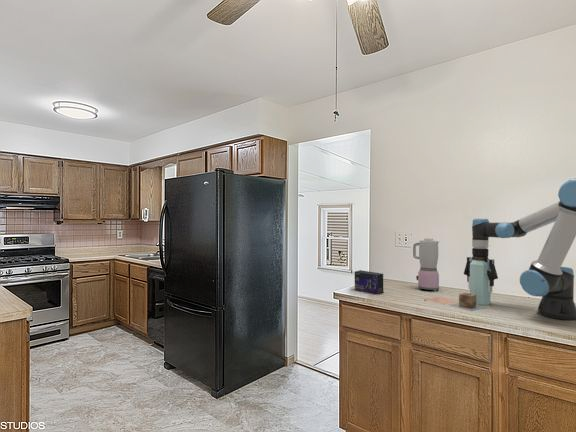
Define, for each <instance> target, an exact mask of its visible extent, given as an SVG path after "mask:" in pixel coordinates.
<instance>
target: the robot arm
mask: <svg viewBox="0 0 576 432" xmlns="http://www.w3.org/2000/svg"><path fill="white" fill-rule="evenodd" d="M557 196H558V198H559V201H557V202H555V203H553V204H550V205H548V206H546V207H543V208H541V209H540V210H537V211H536V212H533V213H531V214H529V215H526V216H524V217H521V218H520V219H518V220H515V221H512V222H489V221H490V220H489V219H488V218H473V219H472V225H471V231H472V239H471V240H472V241H471V247H472V249H471V254H472V257H471V256H467V257H466V264H465V267H464V271H463V275H465V276H466V277H467V279H466V282H467V284H468V285H467V286H468V290H470V263H471V262H472V261H473V256H477V257H484V261H485V262H488V263H489V266H490V270H491V271H488V270H487V275H488V277H489V280H488V293H491V294H492V293H493V287H494V286H495V280H498V279H499V276H498V273H497V270H496V266H495V259H494V258H493V259H490V258H489V238H498V239H499V238H500V239H510V238H522V237H525V236H526V235H527V234H528V233H530V232H532V231H536V230H538V229H540V228H542V227H545V226H548V225H550V224H552V223H553V225H552V228H551V229H550V232H549V234H548V236H547V238H546V241H545V243H544V245H543V247H542V249H541V251H540V254H539V256H538V258H537V259H536V260H532V262H531V264H530V266H529V268H528V269H527V270H524V271H523V272H522V273H521V274H520V277H519V284H520V286H521V289H522V290H523V291H524V292H525V293H527V295H530V296H533V297H541V300H540V302H539V303H538V304H539V305H538V307H537V314H538V315H540V316H543V317H545V318H549V319H556V320H565V321H576V304H575V301H574V294H575V291H574V289H575V288H574V285H575V282H574V281H575V275H574V274H575V273H574V269H573V268H572V267H567V266H563V263H564V261H565V260H566V257H567V256H568V253H569V251H570V249H571V247H572V245H573V243H574V241H575V239H576V177H575V178H571V179H568V180H567V181H565V182H563V183H562V184H561V186H560V187H559V189H558V193H557Z"/></svg>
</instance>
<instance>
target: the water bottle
mask: <svg viewBox="0 0 576 432" xmlns="http://www.w3.org/2000/svg"><path fill="white" fill-rule="evenodd" d="M472 257H473V260H472V262H471V263H470V289H469V294H475V295H476V305H478V306H489V305H490V304H491V302H492V299H491V294H492V292H491V293H488V280H489V277H488V275H487V270H488V271H491V270H490V266H489V263H488V262H485V261H484V257H477V256H473V255H472Z"/></svg>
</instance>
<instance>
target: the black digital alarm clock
mask: <svg viewBox="0 0 576 432" xmlns="http://www.w3.org/2000/svg"><path fill="white" fill-rule="evenodd" d="M354 290H355V291H357V290H358V291H359V292H362V291H363V292H364V293H367V292H368V293H367V294H372V295H377V296H378V295H382V294H384V273H380V272H374V271H370V270H369V271H368V270H361V269H360V270H356V271H354ZM358 291H357V292H358Z"/></svg>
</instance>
